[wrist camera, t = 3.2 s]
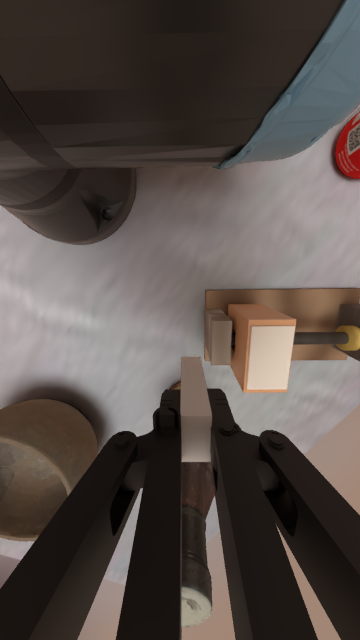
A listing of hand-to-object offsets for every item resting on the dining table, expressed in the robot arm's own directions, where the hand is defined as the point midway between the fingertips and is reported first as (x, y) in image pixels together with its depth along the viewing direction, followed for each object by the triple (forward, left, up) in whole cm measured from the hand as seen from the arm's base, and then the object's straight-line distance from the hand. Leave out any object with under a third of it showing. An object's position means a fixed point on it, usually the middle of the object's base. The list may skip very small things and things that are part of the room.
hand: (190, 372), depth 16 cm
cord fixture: (0, +12, -13) cm, 18 cm away
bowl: (+17, -22, -13) cm, 30 cm away
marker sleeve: (0, +7, -10) cm, 12 cm away
